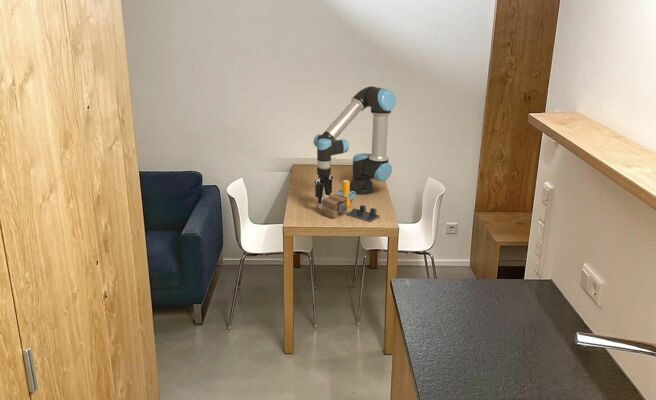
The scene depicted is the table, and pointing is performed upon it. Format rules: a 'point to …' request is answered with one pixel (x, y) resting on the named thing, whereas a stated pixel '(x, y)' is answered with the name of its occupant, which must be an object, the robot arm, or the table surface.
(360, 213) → the dark grey pegged plate
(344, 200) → the brown wooden stepped block
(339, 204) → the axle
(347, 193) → the orange post with rings
